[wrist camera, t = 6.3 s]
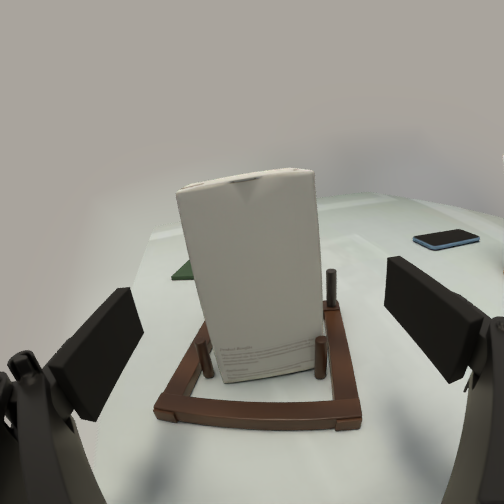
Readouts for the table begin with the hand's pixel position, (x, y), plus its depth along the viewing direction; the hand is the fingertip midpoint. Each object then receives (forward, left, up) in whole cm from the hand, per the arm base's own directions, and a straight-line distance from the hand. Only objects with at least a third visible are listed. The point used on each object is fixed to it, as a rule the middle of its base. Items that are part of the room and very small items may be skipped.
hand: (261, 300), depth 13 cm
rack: (-1, +7, -9) cm, 11 cm away
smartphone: (+32, +36, -9) cm, 49 cm away
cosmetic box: (-1, +7, -9) cm, 11 cm away
